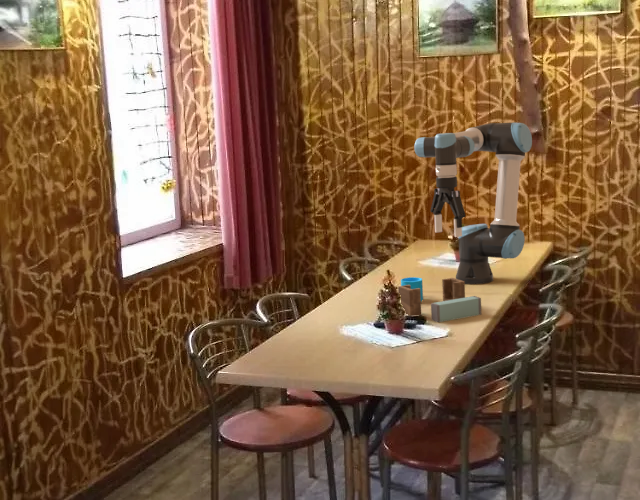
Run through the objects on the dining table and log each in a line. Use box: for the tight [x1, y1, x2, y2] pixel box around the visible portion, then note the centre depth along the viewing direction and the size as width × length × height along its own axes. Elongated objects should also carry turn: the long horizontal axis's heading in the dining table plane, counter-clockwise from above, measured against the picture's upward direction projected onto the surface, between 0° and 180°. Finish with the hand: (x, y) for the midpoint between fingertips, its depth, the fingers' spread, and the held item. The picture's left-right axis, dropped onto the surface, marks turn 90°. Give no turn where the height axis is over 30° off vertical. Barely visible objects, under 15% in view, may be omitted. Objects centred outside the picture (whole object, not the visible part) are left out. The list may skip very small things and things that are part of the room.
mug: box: [400, 276, 424, 302], centre depth 359 cm, size 12×8×8 cm
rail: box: [430, 295, 482, 323], centre depth 329 cm, size 18×4×6 cm, turn 114°
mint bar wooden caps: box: [397, 277, 466, 316], centre depth 340 cm, size 23×8×10 cm, turn 114°
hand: (448, 234), depth 342 cm, fingers open, 13 cm apart
